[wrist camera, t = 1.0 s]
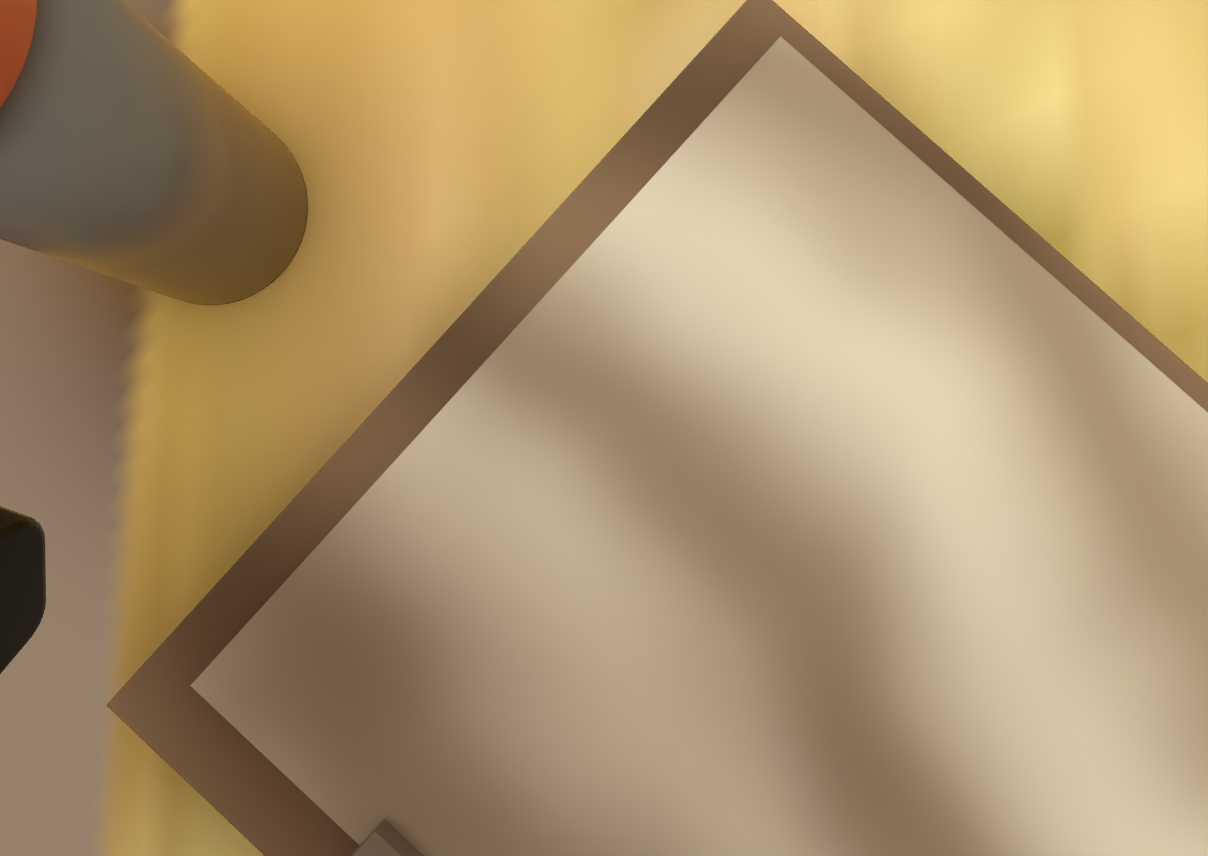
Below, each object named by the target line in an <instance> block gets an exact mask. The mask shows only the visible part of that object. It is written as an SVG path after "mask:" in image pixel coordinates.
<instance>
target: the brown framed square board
mask: <svg viewBox="0 0 1208 856" xmlns="http://www.w3.org/2000/svg"><path fill="white" fill-rule="evenodd" d="M107 706H108V707H109V708H110V709H111V710H112V711H113V712H114V713H115V714H116V715H117V716H118V717H119V718H120V719H121V720H122V721H123V722H125V723H126V724H127V725H128V726H129V727H130V728H131V729H132V730H133V731H134V732H135V733H136V734H137V735H138V736H139V737H140V738H141V739H142V740H144V741H145V742H146V743H147V744H148V745H149V746H150V747H151V748H152V749H153V750H154V751H155V752H156V753H157V754H158V755H159V756H160V757H161V758H162V759H164V760H165V761H166V762H167V763H168V764H169V765H170V766H171V767H172V768H173V769H174V770H175V771H176V772H177V773H178V774H179V775H180V776H181V777H183V778H184V779H185V780H186V781H187V782H188V783H189V784H190V785H191V786H192V787H193V788H194V789H195V790H196V791H197V792H198V793H199V794H200V795H201V796H203V797H204V798H205V799H206V800H207V801H208V802H209V803H210V804H211V805H212V806H213V807H214V808H215V809H216V810H217V811H218V812H219V813H220V814H221V815H223V816H224V817H225V818H226V819H227V820H228V821H229V822H230V823H231V824H232V825H233V826H234V827H235V828H236V829H237V830H238V831H239V832H240V833H242V834H243V835H244V836H245V837H246V838H247V839H248V840H249V841H250V842H251V843H252V844H253V845H254V846H255V847H256V848H257V849H258V850H259V851H260V852H262V853H263V854H264V855H265V856H1208V383H1207V382H1206V381H1205V380H1204V379H1202V378H1201V377H1200V376H1199V375H1198V374H1197V373H1196V372H1195V371H1193V370H1192V369H1191V368H1190V367H1189V366H1188V365H1187V364H1185V363H1184V362H1183V361H1182V360H1181V359H1180V358H1179V357H1177V356H1176V355H1175V354H1174V353H1173V352H1172V351H1171V350H1169V349H1168V348H1167V347H1166V346H1165V345H1164V344H1163V343H1162V342H1160V341H1159V340H1158V339H1157V338H1156V337H1155V336H1154V335H1152V334H1151V333H1150V332H1149V331H1148V330H1147V329H1146V328H1144V327H1143V326H1142V325H1141V324H1140V323H1139V322H1138V321H1136V320H1135V319H1134V318H1133V317H1132V316H1131V315H1130V314H1129V313H1127V312H1126V311H1125V310H1124V309H1123V308H1122V307H1121V306H1119V305H1118V304H1117V303H1116V302H1115V301H1114V300H1113V299H1111V298H1110V297H1109V296H1108V295H1107V294H1106V293H1105V292H1104V291H1102V290H1101V289H1100V288H1099V287H1098V286H1097V285H1096V284H1094V283H1093V282H1092V281H1091V280H1090V279H1089V278H1088V277H1086V276H1085V275H1084V274H1083V273H1082V272H1081V271H1080V270H1078V269H1077V268H1076V267H1075V266H1074V265H1073V264H1072V263H1071V262H1069V261H1068V260H1067V259H1066V258H1065V257H1064V256H1063V255H1061V254H1060V253H1059V252H1058V251H1057V250H1056V249H1055V248H1053V247H1052V246H1051V245H1050V244H1049V243H1048V242H1047V241H1046V240H1044V239H1043V238H1042V237H1041V236H1040V235H1039V234H1038V233H1036V232H1035V231H1034V230H1033V229H1032V228H1031V227H1030V226H1028V225H1027V224H1026V223H1025V222H1024V221H1023V220H1022V219H1020V218H1019V217H1018V216H1017V215H1016V214H1015V213H1014V212H1013V211H1011V210H1010V209H1009V208H1008V207H1007V206H1006V205H1005V204H1003V203H1002V202H1001V201H1000V200H999V199H998V198H997V197H995V196H994V195H993V194H992V193H991V192H990V191H989V190H988V189H986V188H985V187H984V186H983V185H982V184H981V183H980V182H978V181H977V180H976V179H975V178H974V177H973V176H972V175H970V174H969V173H968V172H967V171H966V170H965V169H964V168H962V167H961V166H960V165H959V164H958V163H957V162H956V161H955V160H953V159H952V158H951V157H950V156H949V155H948V154H947V153H945V152H944V151H943V150H942V149H941V148H940V147H939V146H937V145H936V144H935V143H934V142H933V141H932V140H931V139H930V138H928V137H927V136H926V135H925V134H924V133H923V132H922V131H920V130H919V129H918V128H917V127H916V126H915V125H914V124H912V123H911V122H910V121H909V120H908V119H907V118H906V117H904V116H903V115H902V114H901V113H900V112H899V111H898V110H897V109H895V108H894V107H893V106H892V105H891V104H890V103H889V102H887V101H886V100H885V99H884V98H883V97H882V96H881V95H879V94H878V93H877V92H876V91H875V90H874V89H873V88H872V87H870V86H869V85H868V84H867V83H866V82H865V81H864V80H862V79H861V78H860V77H859V76H858V75H857V74H856V73H854V72H853V71H852V70H851V69H850V68H849V67H848V66H846V65H845V64H844V63H843V62H842V61H841V60H840V59H839V58H837V57H836V56H835V55H834V54H833V53H832V52H831V51H829V50H828V49H827V48H826V47H825V46H824V45H823V44H821V43H820V42H819V41H818V40H817V39H816V38H815V37H814V36H812V35H811V34H810V33H809V32H808V31H807V30H806V29H804V28H803V27H802V26H801V25H800V24H799V23H798V22H796V21H795V20H794V19H793V18H792V17H791V16H790V15H788V14H787V13H786V12H785V11H784V10H783V9H782V8H781V7H779V6H778V5H777V4H776V3H775V2H774V1H773V0H747V1H746V2H745V3H744V4H743V5H742V6H741V7H740V9H739V10H738V11H737V12H736V13H735V14H734V15H733V16H732V17H731V18H730V20H729V21H728V22H727V23H726V24H725V25H724V26H723V27H722V28H721V29H720V31H719V32H718V33H717V34H716V35H715V36H714V37H713V38H712V39H711V40H710V42H709V43H708V44H707V45H706V46H705V47H704V48H703V49H702V50H701V51H700V53H699V54H698V55H697V56H696V57H695V58H694V59H693V60H692V61H691V62H690V64H689V65H688V66H687V67H686V68H685V69H684V70H683V71H682V72H681V74H680V75H679V76H678V77H677V78H676V79H675V80H674V81H673V82H672V83H671V85H670V86H669V87H668V88H667V89H666V90H665V91H664V92H663V93H662V94H661V96H660V97H659V98H658V99H657V100H656V101H655V102H654V103H653V104H652V105H651V107H650V108H649V109H648V110H647V111H646V112H645V113H644V114H643V115H642V116H641V118H640V119H639V120H638V121H637V122H636V123H635V124H634V125H633V126H632V127H631V129H630V130H629V131H628V132H627V133H626V134H625V135H624V136H623V137H622V138H621V140H620V141H619V142H618V143H617V144H616V145H615V146H614V147H613V148H612V149H611V151H610V152H609V153H608V154H607V155H606V156H605V157H604V158H603V159H602V160H601V162H600V163H599V164H598V165H597V166H596V167H595V168H594V169H593V170H592V171H591V173H590V174H589V175H588V176H587V177H586V178H585V179H584V180H583V181H582V182H581V184H580V185H579V186H578V187H577V188H576V189H575V190H574V191H573V192H572V193H571V195H570V196H569V197H568V198H567V199H566V200H565V201H564V202H563V203H562V204H561V206H560V207H559V208H558V209H557V210H556V211H555V212H554V213H553V214H552V215H551V217H550V218H549V219H548V220H547V221H546V222H545V223H544V224H543V225H542V226H541V228H540V229H539V230H538V231H537V232H536V233H535V234H534V235H533V236H532V237H531V239H530V240H529V241H528V242H527V243H526V244H525V245H524V246H523V247H522V248H521V250H520V251H519V252H518V253H517V254H516V255H515V256H514V257H513V258H512V259H511V261H510V262H509V263H508V264H507V265H506V266H505V267H504V268H503V269H502V270H501V272H500V273H499V274H498V275H497V276H496V277H495V278H494V279H493V280H492V281H491V283H490V284H489V285H488V286H487V287H486V288H485V289H484V290H483V291H482V292H481V294H480V295H479V296H478V297H477V298H476V299H475V300H474V301H473V302H472V303H471V305H470V306H469V307H468V308H467V309H466V310H465V311H464V312H463V313H462V314H461V316H460V317H459V318H458V319H457V320H456V321H455V322H454V323H453V324H452V325H451V327H450V328H449V329H448V330H447V331H446V332H445V333H444V334H443V335H442V336H441V338H440V339H439V340H438V341H437V342H436V343H435V344H434V345H433V346H432V347H431V349H430V350H429V351H428V352H427V353H426V354H425V355H424V356H423V357H422V358H421V360H420V361H419V362H418V363H417V364H416V365H415V366H414V367H413V368H412V369H411V371H410V372H409V373H408V374H407V375H406V376H405V377H404V378H403V379H402V380H401V382H400V383H399V384H398V385H397V386H396V387H395V388H394V389H393V390H392V391H391V393H390V394H389V395H388V396H387V397H386V398H385V399H384V400H383V401H382V402H381V404H380V405H379V406H378V407H377V408H376V409H375V410H374V411H373V412H372V414H371V415H370V416H369V417H368V418H367V419H366V420H365V421H364V422H363V423H362V425H361V426H360V427H359V428H358V429H357V430H356V431H355V432H354V433H353V434H352V436H351V437H350V438H349V439H348V440H347V441H346V442H345V443H344V444H343V445H342V447H341V448H340V449H339V450H338V451H337V452H336V453H335V454H334V455H333V456H332V458H331V459H330V460H329V461H328V462H327V463H326V464H325V465H324V466H323V467H322V469H321V470H320V471H319V472H318V473H317V474H316V475H315V476H314V477H313V478H312V480H311V481H310V482H309V483H308V484H307V485H306V486H305V487H304V488H303V489H302V491H301V492H300V493H299V494H298V495H297V496H296V497H295V498H294V499H293V500H292V502H291V503H290V504H289V505H288V506H287V507H286V508H285V509H284V510H283V511H282V513H281V514H280V515H279V516H278V517H277V518H276V519H275V520H274V521H273V522H272V524H271V525H270V526H269V527H268V528H267V529H266V530H265V531H264V532H263V533H262V535H261V536H260V537H259V538H258V539H257V540H256V541H255V542H254V543H253V544H252V546H251V547H250V548H249V549H248V550H247V551H246V552H245V553H244V554H243V555H242V557H241V558H240V559H239V560H238V561H237V562H236V563H235V564H234V565H233V566H232V568H231V569H230V570H229V571H228V572H227V573H226V574H225V575H224V576H223V577H222V579H221V580H220V581H219V582H218V583H217V584H216V585H215V586H214V587H213V588H212V590H211V591H210V592H209V593H208V594H207V595H206V596H205V597H204V598H203V599H202V601H201V602H200V603H199V604H198V605H197V606H196V607H195V608H194V609H193V610H192V612H191V613H190V614H189V615H188V616H187V617H186V618H185V619H184V620H183V621H182V623H181V624H180V625H179V626H178V627H177V628H176V629H175V630H174V631H173V632H172V634H171V635H170V636H169V637H168V638H167V639H166V640H165V641H164V642H163V643H162V645H161V646H160V647H159V648H158V649H157V650H156V651H155V652H154V653H153V654H152V656H151V657H150V658H149V659H148V660H147V661H146V662H145V663H144V664H143V665H142V667H141V668H140V669H139V670H138V671H137V672H136V673H135V674H134V675H133V676H132V678H131V679H130V680H129V681H128V682H127V683H126V684H125V685H124V686H123V687H122V689H121V690H120V691H119V692H118V693H117V694H116V695H115V696H114V697H113V698H112V700H111V701H110V702H109V703H108V704H107Z"/></svg>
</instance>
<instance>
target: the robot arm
mask: <svg viewBox="0 0 1208 856" xmlns="http://www.w3.org/2000/svg"><path fill="white" fill-rule="evenodd" d="M45 604H46V578H45V535H44V531H43V529H42V527H41V525H40V523H39V522H37V521H36V520H35V519H33V518H31V517H28V516H26V515H23V514H20V513H17V512H15V511H12V510H9V509H6V508H4V507H1V506H0V674H1V672H2V671H3V670H4V669H5V668H6V666H7V665H8V664H9V663H10V662H11V661H12V659H13V658H14V657H15V656H16V655H17V653H18V652H19V651H20V650H21V649H22V647H23V646H24V645H25V644H26V643H27V641H28V640H29V639H30V638H31V637H32V635H33V634H34V632H35V631H36V629H37V627H38V626H39V624H40V622H41V619H42V617H43V614H44V609H45Z"/></svg>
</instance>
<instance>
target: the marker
mask: <svg viewBox="0 0 1208 856" xmlns="http://www.w3.org/2000/svg"><path fill="white" fill-rule="evenodd" d="M306 220H307V193H306V187H305V183H304V179H303V176H302V174H301V171H300V168H299V166H298V164H297V162H296V160H295V159H294V157H293V155H292V154H291V152H290V151H289V150H288V148H287V147H286V145H285V144H284V143H283V142H282V141H281V140H280V139H279V138H278V137H277V136H276V135H275V134H274V133H272V132H271V131H270V130H269V129H268V128H267V127H266V126H265V125H263V124H262V123H261V122H260V121H259V120H258V119H257V118H256V117H254V116H253V115H252V114H251V113H250V112H249V111H248V110H246V109H245V108H244V107H243V106H242V105H241V104H240V103H239V102H237V101H236V100H235V99H234V98H233V97H232V96H231V95H230V94H228V93H227V92H226V91H225V90H224V89H223V88H222V87H220V86H219V85H218V84H217V83H216V82H215V81H214V80H213V79H211V78H210V77H209V76H208V75H207V74H206V73H205V72H203V71H202V70H201V69H200V68H199V67H198V66H197V65H196V64H194V63H193V62H192V61H191V60H190V59H189V58H188V57H187V56H185V55H184V54H183V53H182V52H181V51H180V50H179V49H177V48H176V47H175V46H174V45H173V44H172V43H171V42H170V41H168V40H167V39H166V38H165V37H164V36H163V35H162V34H160V33H159V32H158V31H157V30H156V29H155V28H154V27H153V26H151V25H150V24H149V23H148V22H147V21H146V20H145V19H144V18H142V17H141V16H140V15H139V14H138V13H137V12H136V11H134V10H133V9H132V8H131V7H130V6H129V5H128V4H127V3H125V2H124V1H123V0H0V239H2V240H5V241H8V242H11V243H14V244H17V245H19V246H23V247H25V248H28V249H31V250H34V251H37V252H40V253H43V254H46V255H49V256H52V257H55V258H58V259H61V260H64V261H67V262H69V263H72V264H75V265H79V266H81V267H85V268H87V269H90V270H93V271H96V272H99V273H102V274H105V275H108V276H111V277H114V278H117V279H120V280H122V281H125V282H128V283H131V284H134V285H137V286H140V287H143V288H146V289H149V290H152V291H155V292H158V293H161V294H164V295H166V296H169V297H172V298H175V299H178V300H182V301H185V302H189V303H194V304H201V305H218V304H226V303H231V302H235V301H239V300H242V299H244V298H247V297H249V296H252V295H253V294H255V293H257V292H259V291H260V290H262V289H264V288H265V287H266V286H268V285H269V284H270V283H272V282H273V281H274V280H275V279H276V278H277V277H278V276H279V275H280V274H281V273H282V272H283V271H284V270H285V268H286V267H287V266H288V265H289V263H290V262H291V260H292V259H293V257H294V255H295V254H296V252H297V250H298V247H299V245H300V243H301V241H302V237H303V234H304V230H305V226H306Z"/></svg>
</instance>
